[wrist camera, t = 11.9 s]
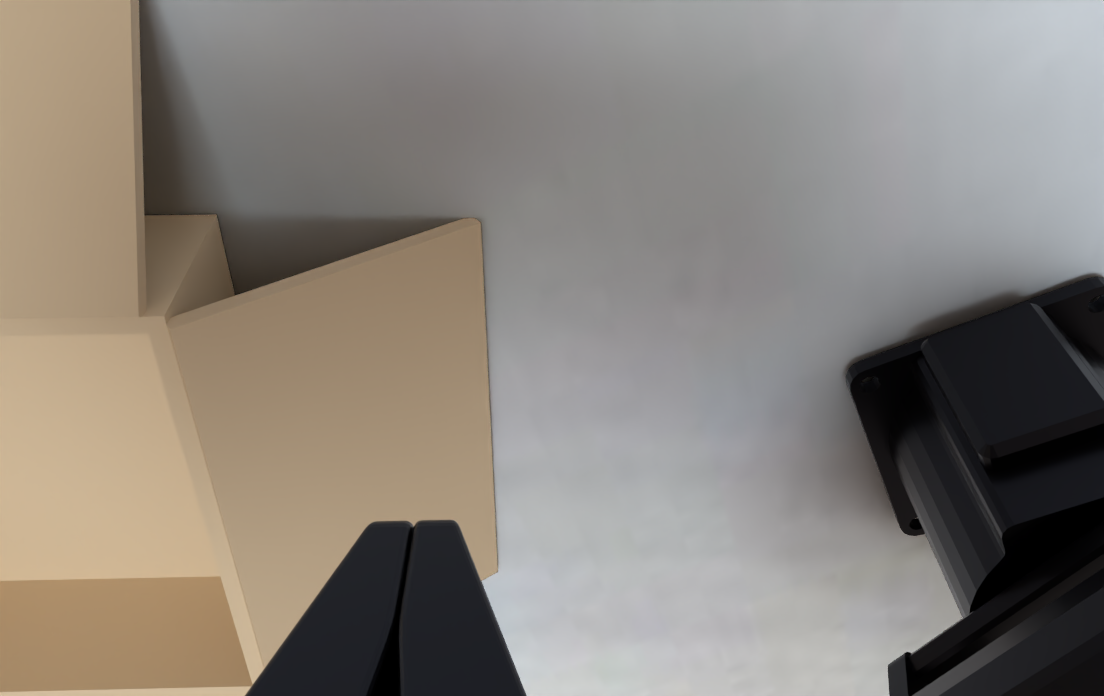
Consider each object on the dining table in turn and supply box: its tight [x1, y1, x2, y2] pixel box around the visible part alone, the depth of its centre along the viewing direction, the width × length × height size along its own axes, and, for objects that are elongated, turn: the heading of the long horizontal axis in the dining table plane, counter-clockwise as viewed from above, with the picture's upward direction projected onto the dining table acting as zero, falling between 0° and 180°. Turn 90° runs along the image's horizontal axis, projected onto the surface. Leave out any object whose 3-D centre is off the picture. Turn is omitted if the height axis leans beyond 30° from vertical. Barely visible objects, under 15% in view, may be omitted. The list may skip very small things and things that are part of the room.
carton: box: [0, 0, 498, 696], centre depth 24 cm, size 16×24×4 cm
